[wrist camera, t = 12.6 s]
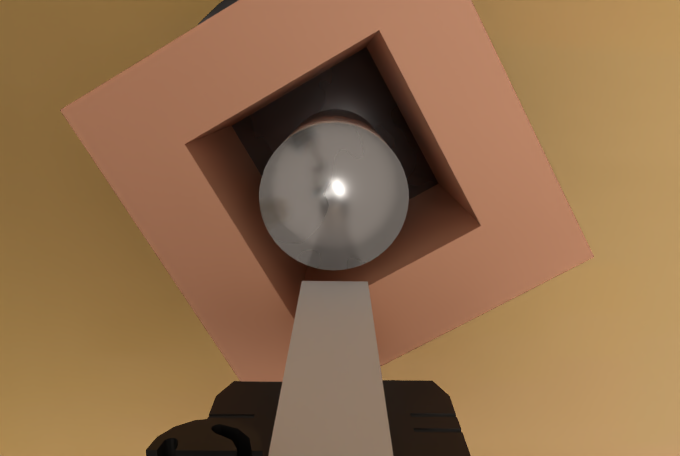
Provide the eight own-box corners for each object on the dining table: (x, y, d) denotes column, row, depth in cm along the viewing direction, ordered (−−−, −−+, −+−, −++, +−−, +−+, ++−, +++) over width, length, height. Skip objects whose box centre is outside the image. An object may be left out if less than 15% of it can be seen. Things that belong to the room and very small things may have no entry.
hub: (164, -26, 20) (18, -117, 11) (510, -22, 20) (652, -110, 11) (182, 301, 23) (79, 444, 14) (486, 303, 23) (583, 448, 14)
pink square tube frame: (145, 101, 19) (59, 110, 13) (392, -47, 18) (418, -110, 12) (288, 328, 21) (268, 423, 15) (518, 206, 20) (594, 257, 14)
